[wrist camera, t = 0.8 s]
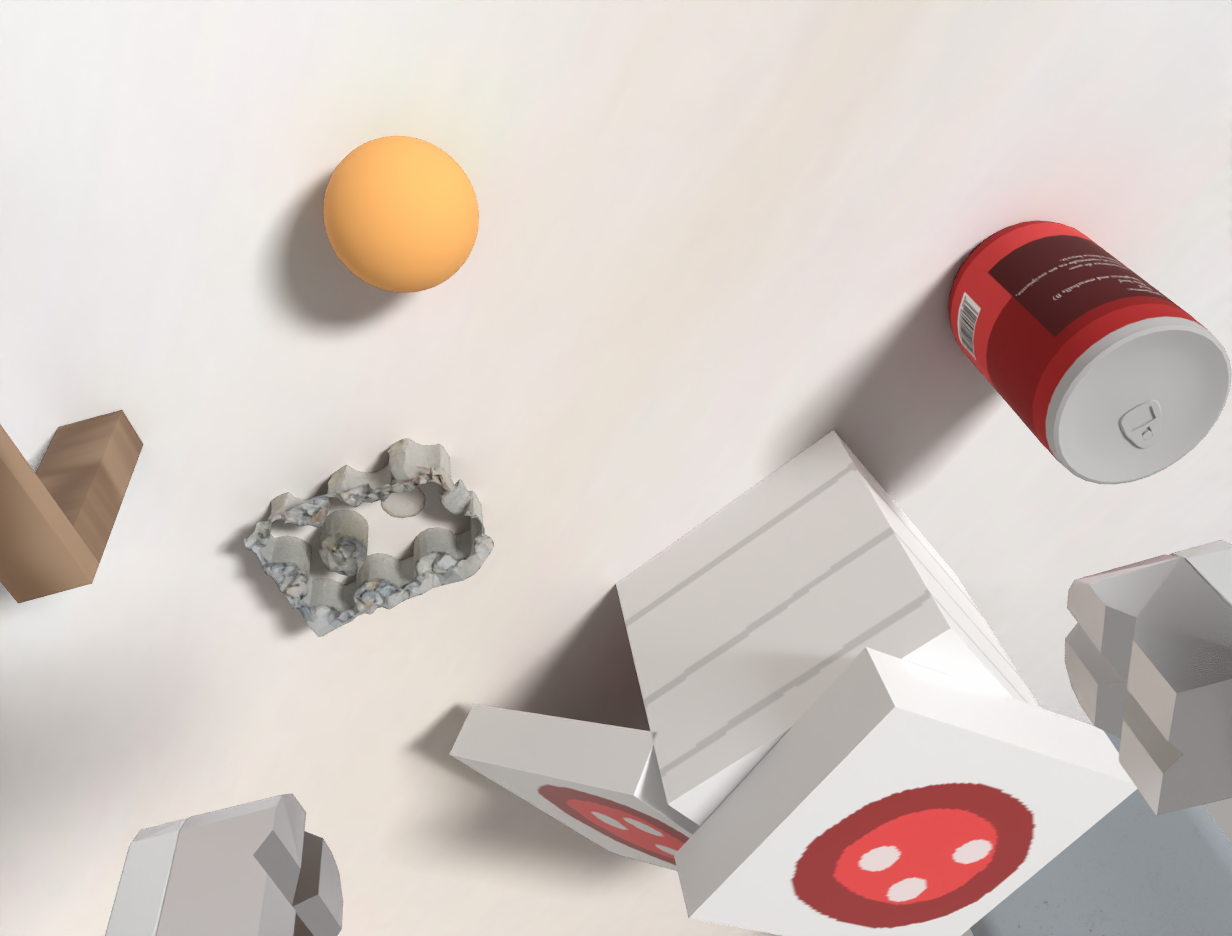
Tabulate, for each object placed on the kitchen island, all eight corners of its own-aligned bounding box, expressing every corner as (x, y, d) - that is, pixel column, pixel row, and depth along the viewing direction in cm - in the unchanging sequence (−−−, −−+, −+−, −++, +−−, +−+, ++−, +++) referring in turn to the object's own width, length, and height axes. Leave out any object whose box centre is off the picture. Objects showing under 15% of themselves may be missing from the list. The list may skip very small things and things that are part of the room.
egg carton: (437, 417, 51) (439, 466, 47) (499, 524, 55) (505, 575, 52) (240, 497, 51) (229, 550, 48) (317, 596, 56) (312, 651, 52)
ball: (305, 137, 41) (291, 192, 37) (450, 98, 41) (455, 148, 37) (359, 270, 45) (352, 336, 40) (492, 234, 45) (501, 295, 40)
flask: (923, 830, 78) (1099, 1213, 58) (911, 797, 75) (1091, 1188, 55) (1146, 746, 76) (1406, 1112, 56) (1142, 710, 74) (1414, 1081, 54)
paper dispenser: (424, 688, 61) (428, 990, 46) (849, 383, 53) (1014, 633, 38) (623, 816, 71) (677, 1095, 57) (1004, 576, 63) (1179, 831, 49)
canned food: (1000, 385, 54) (1113, 514, 46) (910, 301, 50) (1015, 424, 42) (1121, 279, 52) (1267, 395, 43) (1036, 182, 48) (1177, 287, 39)
